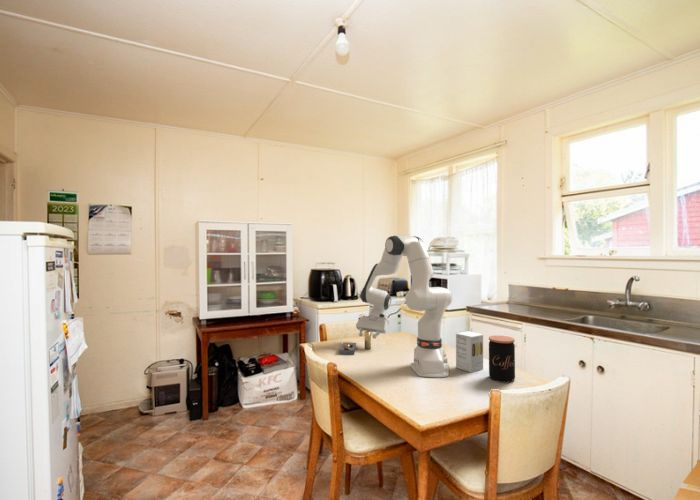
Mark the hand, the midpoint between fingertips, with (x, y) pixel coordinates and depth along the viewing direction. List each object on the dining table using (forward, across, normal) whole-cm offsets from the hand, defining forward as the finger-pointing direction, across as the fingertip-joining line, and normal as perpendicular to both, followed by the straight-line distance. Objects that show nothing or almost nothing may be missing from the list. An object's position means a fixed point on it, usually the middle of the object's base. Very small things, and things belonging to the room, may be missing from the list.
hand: (367, 336), depth 205 cm
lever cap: (+5, 0, +6) cm, 7 cm away
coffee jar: (+9, +75, +2) cm, 76 cm away
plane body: (+11, -8, -1) cm, 13 cm away
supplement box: (+5, +59, +6) cm, 60 cm away
